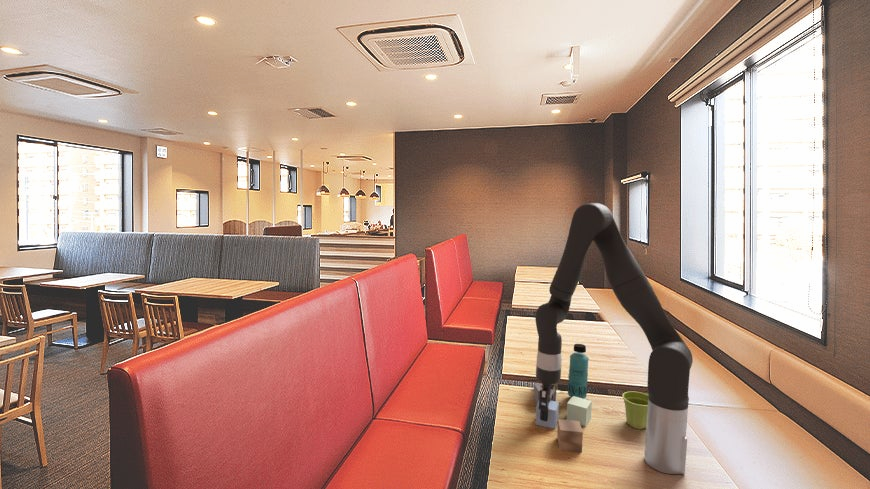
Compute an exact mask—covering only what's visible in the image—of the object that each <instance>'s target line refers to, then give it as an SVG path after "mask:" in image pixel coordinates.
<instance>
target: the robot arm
mask: <svg viewBox="0 0 870 489" xmlns="http://www.w3.org/2000/svg"><path fill="white" fill-rule="evenodd" d="M569 226H570V227H569V230H568V236H567V239H566V243H565V246H564V250H563V253H562V256H561V258H560V261H559V264H558V266H557V269H556V271H555V274H554V276H553V278H552V281H551V283H550V286H549V294H550V297H549V300H548V302H546V303H543V304H541V305H539V306H538V308H537V309H536V313H535V325H536V331H537V332H536V333H537V335H538V341H537V353H536V365H535V379H536V380H537V381H538V382H540V381H541V382H542V385H541V386H540V392H539V393H540V397H539V409H540V420H542V421H547V420H548V409H549V403H551V401H553V396H554V392H555V384H556V383H557V384H559V382H560V381H561V377H562V361H563V360H562V345H563V344H562V343H563V342H562V341H563V339H562V336H561V334H560V333H559V332H558V330H557V329H558V327H557V326H558V324H560V323H562V322H563V321H564V320H566V318H567V316H568V314H569V311H570V309H571V308H570V307H571V302H572V297H573V295H574V293H575V291H576V288H577V286H578V284H579V281H580V279H581V276H582V271H583V267H584V261H585V258H586V254H587V252H588V249H589V248H590V246H591V244H592V242H594V244H595V245H596V247H597V248H598V251H599V253H600V255H601V258H602V261H603V266H604V271H605V275H606V277H607V281H608V284H609V286H610V287H611V290H612V291H613V293H614V296H615V297H616V298H617V300H618V302H619V303H620V305H621V306H622V308H623V309H624V310H625V311H626V313H628V315H629V316H630V317H631V318H632V319H634V321H635V322H636V324H638V325H639V326H640V328H641V329H642V331H643V333H644V335H645V337H646V339H647V341H648V343H649V345H650V348H651V350H652V351H651V352H650V354H649V358H648V367H647V392H648V394H647V395H648V409H647V425H646V428H645V441H644V442H645V443H644V456H643V458H644V462H645V463H646V464H647V465H648V466H649V467H651V468H652V469H654V470H656V471H658V472H660V473H665V474H667V475H668V474H669V475H677V474H678V475H679V474H680V475H685V473H686V462H687V461H686V460H687V451H688V450H687V448H688V437H687V428H688V415H689V401H690V397H689V385H690V373H691V368H692V365H693V354H692V352H691V350H690V348H689V347H688V345H687V344H686V342H685V341H684V340H683V338H682V337H681V336H680V334H679V333H678V331H677V330H676V328H675V327H674V325H673V324H672V322H671V321H670V319H669V318H668V316H667V314H666V312H665V310H664V308H663V306H662V304H661V302H660V300H659V298H658V296H657V294H656V292H655V291H654V289H653V286H652V285H651V283H650V281H649V279H648V277H647V276H646V274H645V273H644V271H643V270H642V267H641V266H640V264H639V263H638V261H637V260H636V257H635V256H634V255H633V253H632V251H631V250H630V248H629V246H628V245H627V244H626V242H625V240H624V238H623V237H622V234H621V232H620V230H619V227H618V225H617V223H616V220H615V218H614V216H613V214H612V211H611V210H610V208H608V207H607V205H604V204H602V203H599V202H590V203H585V204H581V205H580V206H578V207H577V208H576V209H575V210H574V212H573V215H572V218H571V221H570V225H569ZM542 403H546V406H545V405H542Z"/></svg>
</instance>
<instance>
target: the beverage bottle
mask: <svg viewBox="0 0 870 489" xmlns="http://www.w3.org/2000/svg"><path fill="white" fill-rule="evenodd" d="M572 350H573V351H574V352H573V353H571V354H570V355H569V370H568V375H567V376H568V377H567V378H568V381H567V395H568V397H570V399H571V398H572V397H573V396H575V397H579V398H583V399H586V398H587V394H588V385H589V384H588V378H589V377H588V376H589V372H588V371H589V360H590V359H589V357H588V356H587V355H586V354H585V353H586V351H587V347H586V345H585V344H583V343H574V345H573V349H572Z"/></svg>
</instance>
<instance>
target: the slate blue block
mask: <svg viewBox="0 0 870 489" xmlns="http://www.w3.org/2000/svg"><path fill="white" fill-rule="evenodd" d="M542 405H545V406H546V403H542ZM559 406H560V402H559V401H557V400H556V401H551V403H549V409H548V420H547V421H542V420H540V409H539V401H538V404H537V405H535V425H536V426H537V425H538V426H541V427H545V428H550V429H552V430H553V429H554V430H556V428H557V426H558V419H559V408H560V407H559Z"/></svg>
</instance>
